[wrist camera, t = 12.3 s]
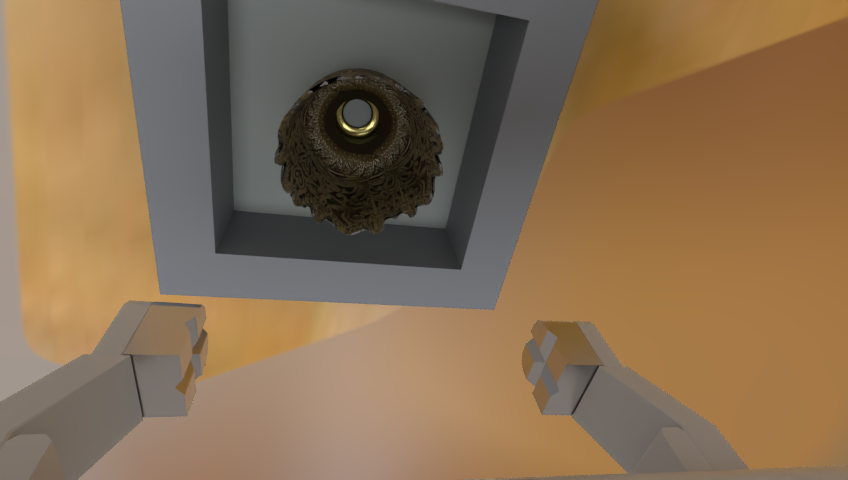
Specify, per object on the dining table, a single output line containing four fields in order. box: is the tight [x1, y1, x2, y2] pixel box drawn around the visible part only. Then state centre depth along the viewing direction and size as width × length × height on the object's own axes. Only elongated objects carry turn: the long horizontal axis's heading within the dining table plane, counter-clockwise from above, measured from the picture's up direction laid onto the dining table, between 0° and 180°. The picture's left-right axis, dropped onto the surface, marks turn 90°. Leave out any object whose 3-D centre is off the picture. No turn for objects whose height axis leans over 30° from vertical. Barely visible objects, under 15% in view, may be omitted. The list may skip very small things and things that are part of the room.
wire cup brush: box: [274, 68, 443, 235], centre depth 23 cm, size 7×7×8 cm
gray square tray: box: [120, 0, 598, 310], centre depth 25 cm, size 20×20×6 cm
